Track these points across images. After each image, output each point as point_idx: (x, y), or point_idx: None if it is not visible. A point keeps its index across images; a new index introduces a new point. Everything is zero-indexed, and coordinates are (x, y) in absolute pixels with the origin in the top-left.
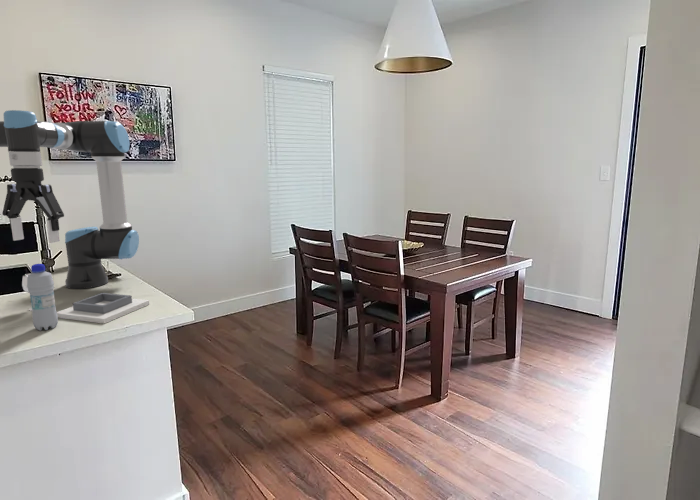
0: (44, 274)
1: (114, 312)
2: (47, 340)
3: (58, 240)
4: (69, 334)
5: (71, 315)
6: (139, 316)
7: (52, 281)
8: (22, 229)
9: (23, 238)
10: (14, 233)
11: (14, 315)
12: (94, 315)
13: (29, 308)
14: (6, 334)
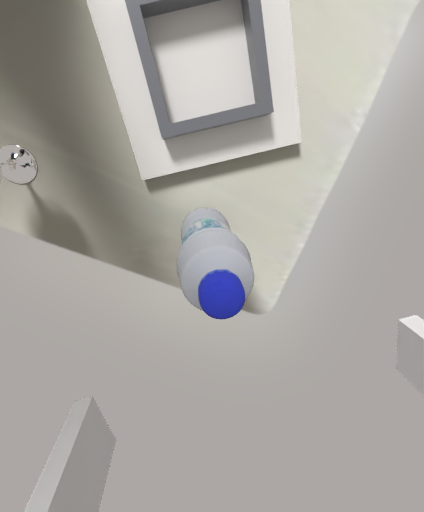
0: (247, 278)
1: (283, 90)
2: (275, 260)
3: (421, 326)
4: (284, 223)
5: (198, 166)
6: (336, 52)
7: (242, 245)
8: (59, 479)
9: (92, 403)
10: (100, 495)
11: (42, 223)
12: (256, 137)
13: (5, 175)
14: (173, 284)
